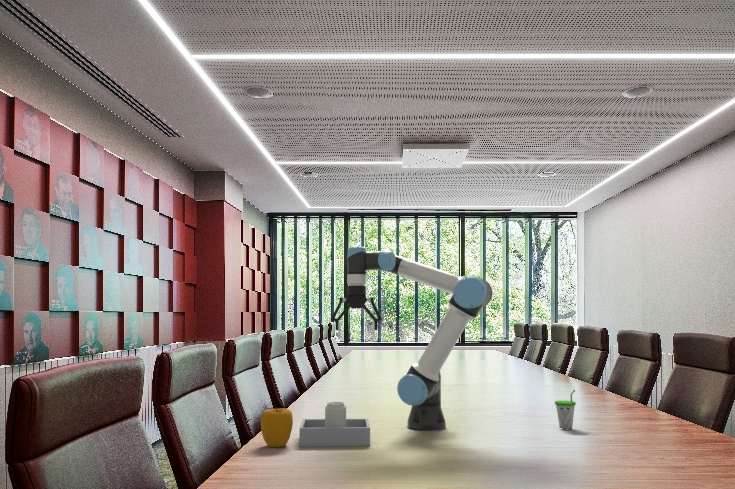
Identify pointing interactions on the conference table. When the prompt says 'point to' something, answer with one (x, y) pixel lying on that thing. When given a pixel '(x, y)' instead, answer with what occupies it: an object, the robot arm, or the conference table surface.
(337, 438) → the walled box
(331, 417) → the can
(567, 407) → the cup
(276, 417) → the apple
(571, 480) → the conference table surface
